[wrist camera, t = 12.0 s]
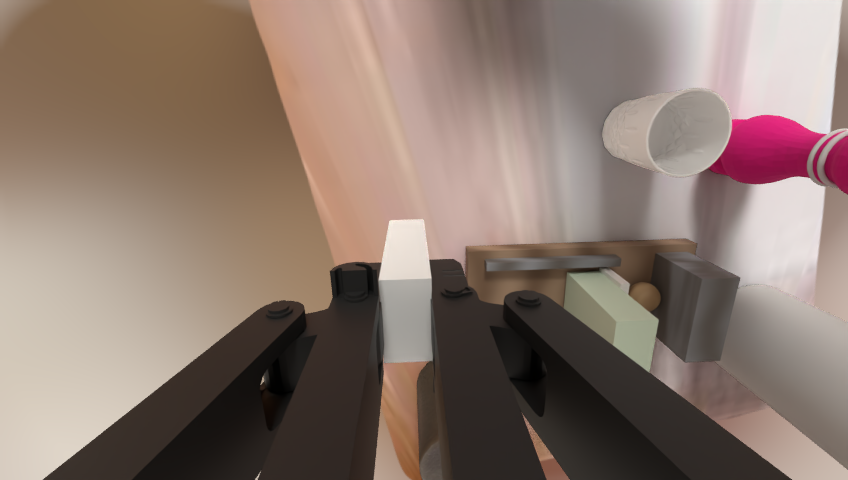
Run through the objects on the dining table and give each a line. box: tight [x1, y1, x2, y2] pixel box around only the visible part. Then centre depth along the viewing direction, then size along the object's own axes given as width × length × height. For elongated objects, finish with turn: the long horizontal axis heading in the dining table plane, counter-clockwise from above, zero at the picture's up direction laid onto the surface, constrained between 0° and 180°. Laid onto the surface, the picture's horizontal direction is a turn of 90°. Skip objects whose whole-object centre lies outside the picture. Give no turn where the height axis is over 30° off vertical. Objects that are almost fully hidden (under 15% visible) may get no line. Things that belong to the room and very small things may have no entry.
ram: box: [564, 267, 659, 372], centre depth 43 cm, size 5×7×12 cm
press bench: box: [466, 239, 740, 362], centre depth 46 cm, size 28×12×10 cm, turn 92°
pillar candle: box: [417, 361, 442, 480], centre depth 48 cm, size 10×10×15 cm
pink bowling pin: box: [708, 115, 848, 194], centre depth 37 cm, size 7×7×20 cm
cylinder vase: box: [714, 285, 848, 470], centre depth 42 cm, size 12×12×25 cm
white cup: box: [602, 88, 732, 177], centre depth 40 cm, size 8×8×10 cm
